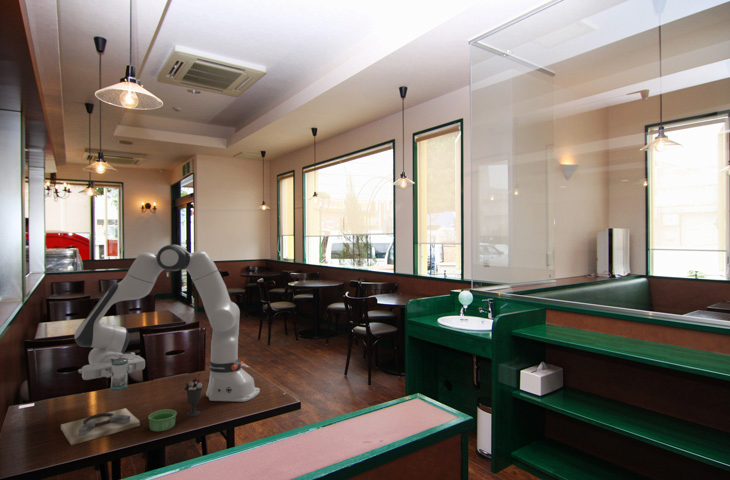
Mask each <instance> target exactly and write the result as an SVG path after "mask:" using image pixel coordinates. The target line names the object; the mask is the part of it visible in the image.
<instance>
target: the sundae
mask: <svg viewBox="0 0 730 480" xmlns="http://www.w3.org/2000/svg"><path fill="white" fill-rule="evenodd" d="M197 378H198V379H197ZM184 384H185V385H186V386H185V388H184V389H183V390H184V391H186V395H187V402H188V404H190V405H191V410H190V411H189V412H187V413H186V416H187V417H192V418H193V417H196V416H199V415H201V413H202V412H201V411H200V410H197V409H196V408H197V407H196V405H197V404H199V402H200V401H201V400H200V399H201V393H202V390H203V388H205V386H204V385H203V384H202V382H201V380H200V376H199V375H197V376H196V377H193V379H192V380H190V381H189V383H187V382H185V383H184Z"/></svg>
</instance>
